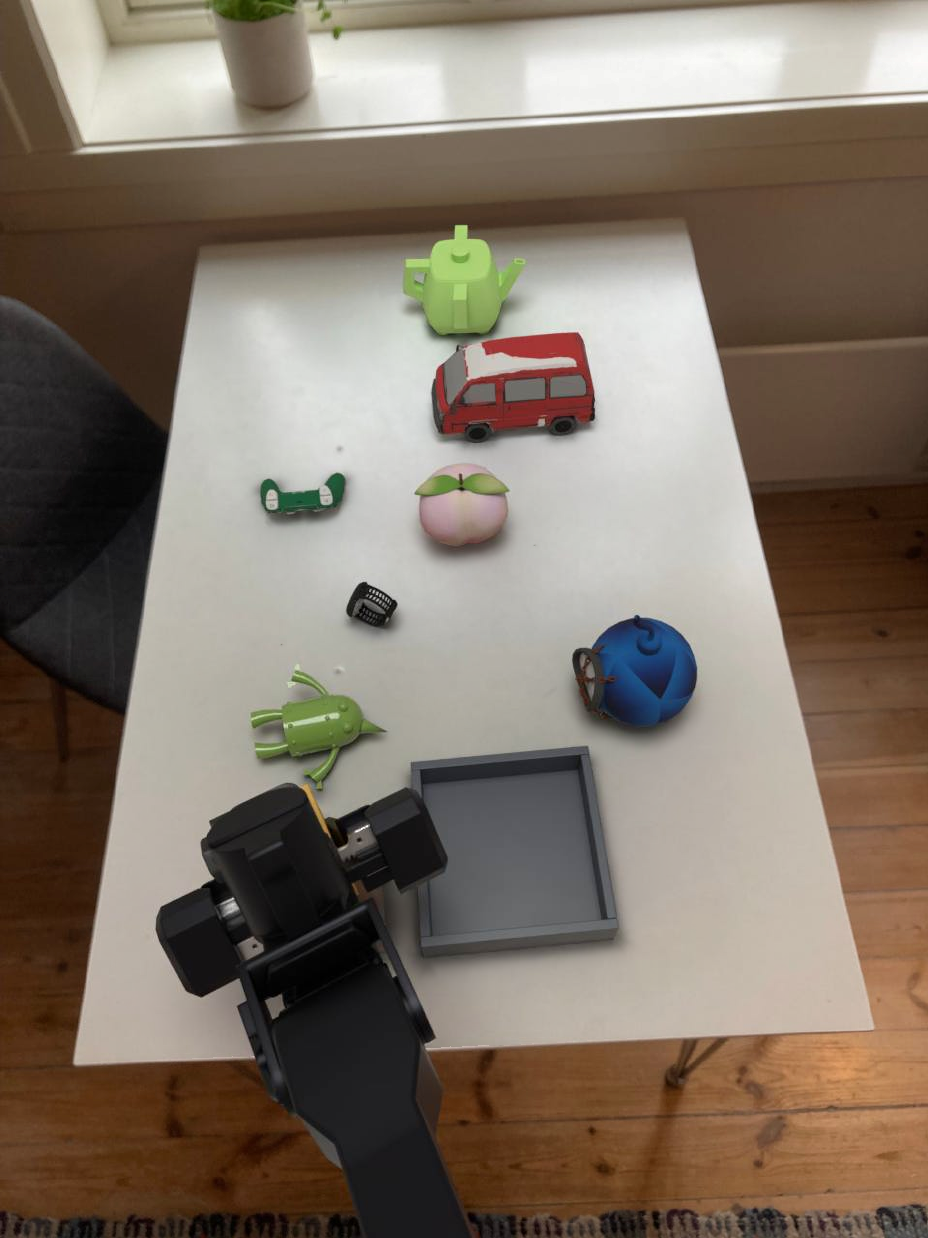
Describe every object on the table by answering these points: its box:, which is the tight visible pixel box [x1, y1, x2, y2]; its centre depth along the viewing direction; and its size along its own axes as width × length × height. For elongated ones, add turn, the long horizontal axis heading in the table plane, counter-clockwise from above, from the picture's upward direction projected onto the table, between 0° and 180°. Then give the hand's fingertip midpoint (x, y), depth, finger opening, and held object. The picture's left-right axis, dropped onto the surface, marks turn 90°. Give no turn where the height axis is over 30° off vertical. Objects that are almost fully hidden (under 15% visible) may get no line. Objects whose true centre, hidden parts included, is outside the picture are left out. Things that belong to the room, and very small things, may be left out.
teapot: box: [402, 224, 526, 336], centre depth 111 cm, size 12×12×10 cm
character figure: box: [250, 663, 388, 790], centre depth 83 cm, size 12×5×12 cm
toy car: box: [430, 331, 596, 444], centre depth 101 cm, size 9×18×10 cm, turn 90°
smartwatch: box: [345, 581, 399, 628], centre depth 89 cm, size 4×5×5 cm
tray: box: [410, 745, 620, 959], centre depth 77 cm, size 16×16×4 cm
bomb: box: [571, 614, 698, 728], centre depth 80 cm, size 10×11×15 cm
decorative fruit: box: [413, 462, 510, 547], centre depth 93 cm, size 9×8×10 cm
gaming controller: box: [259, 472, 346, 515], centre depth 98 cm, size 9×4×6 cm
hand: (292, 840), depth 68 cm, fingers closed on puzzle block, 5 cm apart
